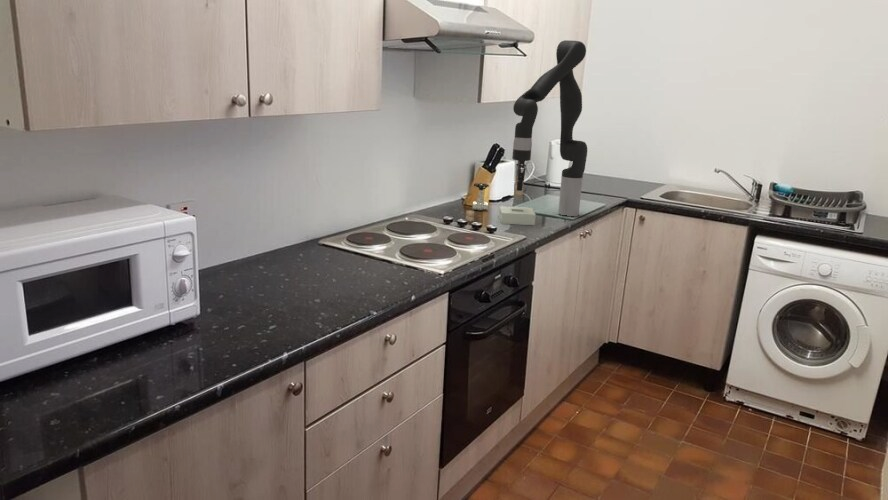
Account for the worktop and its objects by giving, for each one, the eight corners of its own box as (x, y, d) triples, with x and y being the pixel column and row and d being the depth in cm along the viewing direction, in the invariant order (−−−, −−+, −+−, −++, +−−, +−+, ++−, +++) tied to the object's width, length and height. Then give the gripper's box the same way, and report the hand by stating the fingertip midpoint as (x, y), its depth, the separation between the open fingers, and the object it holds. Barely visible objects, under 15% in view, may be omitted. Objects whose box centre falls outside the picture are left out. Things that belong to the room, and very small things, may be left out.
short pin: (465, 219, 274) (465, 210, 273) (473, 219, 274) (474, 210, 273) (465, 221, 271) (466, 211, 269) (473, 221, 271) (474, 212, 269)
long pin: (513, 196, 275) (515, 172, 272) (522, 196, 275) (523, 173, 272) (514, 197, 271) (516, 173, 269) (522, 198, 271) (524, 174, 269)
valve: (487, 212, 290) (489, 185, 287) (472, 211, 290) (474, 185, 287) (486, 209, 297) (488, 183, 294) (472, 208, 297) (473, 182, 293)
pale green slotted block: (499, 216, 283) (499, 206, 282) (531, 218, 283) (532, 207, 281) (501, 223, 269) (501, 212, 268) (534, 225, 269) (535, 214, 268)
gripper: (533, 150, 261) (529, 193, 266) (529, 147, 275) (526, 187, 279) (514, 149, 261) (511, 192, 266) (511, 146, 275) (508, 186, 279)
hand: (518, 189), depth 272 cm, fingers closed on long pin, 3 cm apart
